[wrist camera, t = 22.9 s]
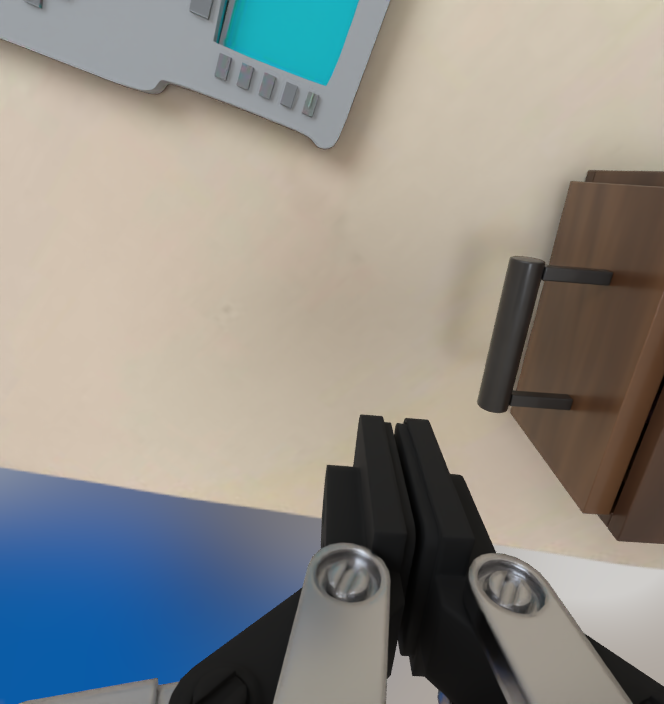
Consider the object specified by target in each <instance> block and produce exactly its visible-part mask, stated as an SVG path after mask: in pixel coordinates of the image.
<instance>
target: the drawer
mask: <svg viewBox="0 0 664 704" xmlns="http://www.w3.org/2000/svg"><path fill="white" fill-rule="evenodd" d="M541 280H543V281H544V285H543V289H542V293H541V297H540V301H539V304H538V308H537V312H536V316H535V320H534V324H533V327H532V331H531V335H530V339H529V343H528V347H527V350H526V354H525V358H524V362H523V366H522V370H521V374H520V377H519V381H518V385H517V389H516V391H515V390H513V386H514V383H515V379H516V375H517V371H518V367H519V363H520V359H521V355H522V352H523V348H524V344H525V340H526V336H527V332H528V328H529V324H530V320H531V317H532V313H533V309H534V305H535V301H536V297H537V293H538V289H539V285H540V282H541ZM663 386H664V187H656V186H640V185H624V184H609V183H593V182H577V181H571V182H570V185H569V189H568V193H567V197H566V201H565V205H564V209H563V212H562V216H561V220H560V224H559V228H558V232H557V235H556V239H555V243H554V247H553V251H552V255H551V258H550V262H549V265H545V262H544V261H543V260H540V259H536V258H531V257H523V256H513V257H510V259H509V264H508V268H507V272H506V277H505V281H504V286H503V290H502V295H501V299H500V303H499V308H498V312H497V317H496V321H495V325H494V330H493V334H492V339H491V343H490V347H489V352H488V356H487V361H486V365H485V369H484V374H483V378H482V383H481V387H480V391H479V396H478V400H477V403H478V405H479V406H480V407H481V408H482V409H484V410H486V411H489V412H494V413H503V412H506V411H507V409H508V406H509V405H510V406H512V408H511V412H510V413H511V414H512V416H513V417H514V419H515V420H516V421H517V423H518V424H519V426H520V427H521V428H522V430H523V431H524V432H525V434H526V435H527V437H528V438H529V439H530V441H531V442H532V443H533V445H534V446H535V448H536V449H537V450H538V452H539V453H540V455H541V456H542V457H543V459H544V460H545V461H546V463H547V464H548V466H549V467H550V468H551V470H552V471H553V473H554V474H555V475H556V477H557V478H558V479H559V481H560V482H561V484H562V485H563V486H564V488H565V489H566V491H567V492H568V493H569V495H570V496H571V497H572V499H573V500H574V502H575V503H576V504H577V506H578V507H579V509H580V510H581V511H582V513H587V514H603V515H609V514H610V511H611V509H612V506H613V504H614V501H615V498H616V496H617V493H618V491H619V488H620V486H621V483H622V481H623V482H624V483H625V482H626V480H627V477H628V474H629V472H630V469H631V467H632V464H633V462H634V459H635V457H636V454H637V452H638V449H639V447H640V444H641V442H642V439H643V437H644V434H645V431H646V429H647V426H648V424H647V423H645V422H646V419H647V417H648V414H649V412H650V409H651V407H652V404H653V401H654V399H655V396H656V394H657V393H661V391H662V388H663Z"/></svg>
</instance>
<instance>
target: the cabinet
mask: <svg viewBox="0 0 664 704" xmlns="http://www.w3.org/2000/svg"><path fill="white" fill-rule="evenodd" d="M585 182H593V183H609V184H624V185H640V186H656V187H664V172H660V171H601V170H589V171H588V173H587V177H586V181H585ZM597 515H598V516H599V517H600V519H601V520H602V521H603V523H604V524H605V525H606V526H607V527H608V529H609V531H610V532H611V533H612V535H613V536H614V537H615V538H616V540H617V541H625V542H641V543H657V544H664V386H663V388H662V391H661V393H660V396H659V399H658V401H657V404H656V406H655V409H654V411H653V414H652V416H651V419H650V421H649V424H648V426H647V429H646V431H645V434H644V437H643V439H642V442H641V444H640V447H639V449H638V452H637V454H636V457H635V459H634V462H633V464H632V467H631V469H630V472H629V474H628V477H627V480H626V482H625V483H624V482H623V481H622V483H621V486H620V488H619V491H618V493H617V496H616V498H615V501H614V504H613V506H612V509H611V511H610V514H609V515H603V514H597Z"/></svg>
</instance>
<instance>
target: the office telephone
mask: <svg viewBox="0 0 664 704" xmlns="http://www.w3.org/2000/svg"><path fill="white" fill-rule="evenodd" d="M389 2H390V0H230V1H229V5H228V9H227V4H228V0H0V39H3V40H6V41H8V42H11V43H13V44H16V45H19V46H21V47H24V48H26V49H29V50H32V51H34V52H37V53H39V54H42V55H45V56H47V57H50V58H52V59H55V60H58V61H60V62H63V63H65V64H68V65H71V66H73V67H76V68H78V69H81V70H84V71H86V72H89V73H91V74H94V75H97V76H99V77H102V78H104V79H107V80H110V81H112V82H115V83H117V84H120V85H123V86H125V87H128V88H132V89H135V90H139V91H142V92H146V93H150V94H158V93H160V92H162V91H163V90H164V89H165V87H166V86H167V85H169V84H173V85H176V86H179V87H183V88H186V89H189V90H192V91H195V92H198V93H200V94H203V95H205V96H208V97H211V98H213V99H216V100H219V101H221V102H224V103H227V104H229V105H232V106H235V107H237V108H240V109H243V110H245V111H247V112H250V113H252V114H255V115H257V116H260V117H262V118H265V119H267V120H270V121H272V122H275V123H277V124H280V125H282V126H285V127H287V128H289V129H292V130H294V131H297V132H299V133H301V134H303V135H305V136H307V137H309V138H310V139H311V140H312V141H313V142H314V143H315V144H316V146H317V147H318V148H321V149H329V148H331V147H333V146H334V145H335V144H336V142H337V140H338V138H339V136H340V134H341V131H342V129H343V127H344V124H345V122H346V119H347V116H348V114H349V111H350V108H351V106H352V103H353V100H354V97H355V95H356V92H357V89H358V87H359V84H360V81H361V78H362V76H363V73H364V70H365V68H366V65H367V62H368V60H369V57H370V54H371V51H372V49H373V46H374V43H375V41H376V38H377V35H378V32H379V30H380V27H381V24H382V22H383V19H384V16H385V13H386V11H387V8H388V5H389ZM226 9H227V13H226ZM225 13H226V17H225ZM224 18H225V21H224ZM223 23H224V25H223ZM222 28H223V29H222ZM221 32H222V33H221Z"/></svg>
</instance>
